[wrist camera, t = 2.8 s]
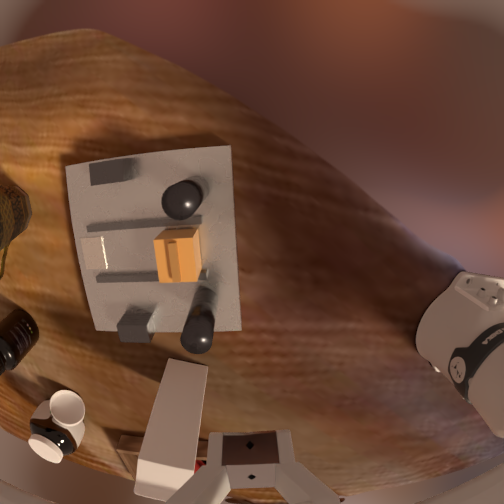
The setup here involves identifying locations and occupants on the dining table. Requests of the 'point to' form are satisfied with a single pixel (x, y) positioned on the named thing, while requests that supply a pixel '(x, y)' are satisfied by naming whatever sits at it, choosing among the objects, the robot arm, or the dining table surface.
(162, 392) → the milk
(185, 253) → the block
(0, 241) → the ceramic cup
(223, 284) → the grey control board
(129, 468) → the walnut tray rim
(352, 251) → the dining table surface
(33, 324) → the supplement bottle
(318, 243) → the dining table surface
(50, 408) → the spread jar
